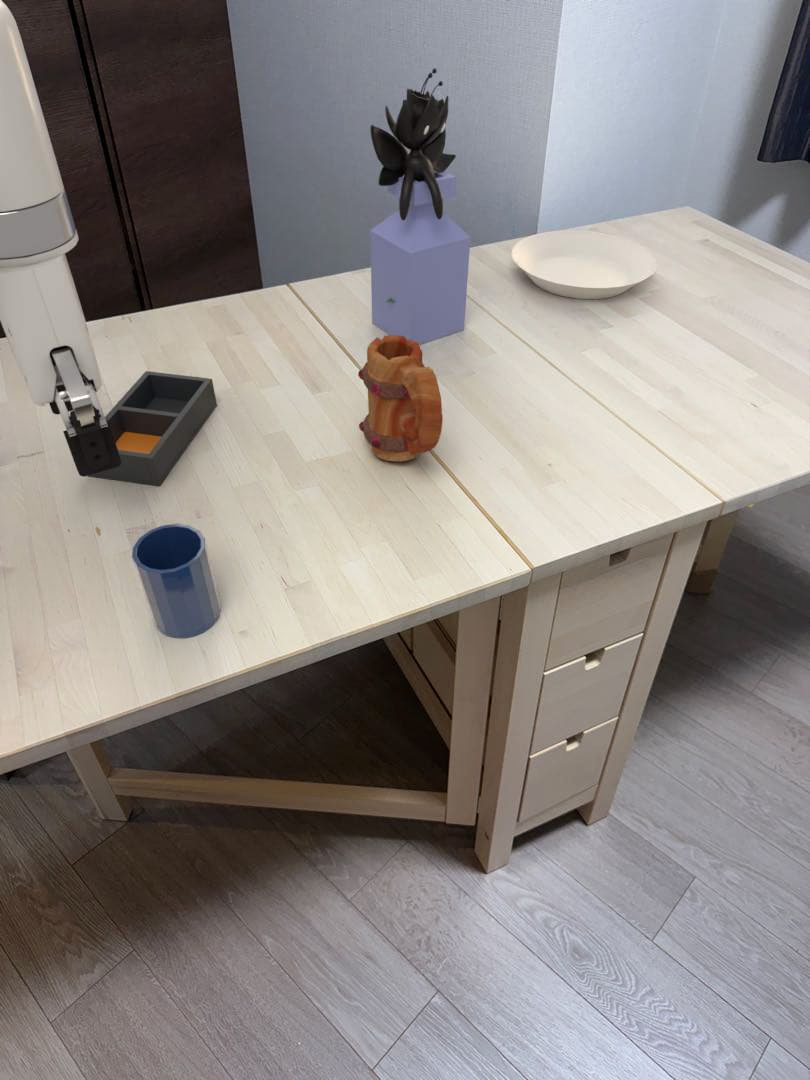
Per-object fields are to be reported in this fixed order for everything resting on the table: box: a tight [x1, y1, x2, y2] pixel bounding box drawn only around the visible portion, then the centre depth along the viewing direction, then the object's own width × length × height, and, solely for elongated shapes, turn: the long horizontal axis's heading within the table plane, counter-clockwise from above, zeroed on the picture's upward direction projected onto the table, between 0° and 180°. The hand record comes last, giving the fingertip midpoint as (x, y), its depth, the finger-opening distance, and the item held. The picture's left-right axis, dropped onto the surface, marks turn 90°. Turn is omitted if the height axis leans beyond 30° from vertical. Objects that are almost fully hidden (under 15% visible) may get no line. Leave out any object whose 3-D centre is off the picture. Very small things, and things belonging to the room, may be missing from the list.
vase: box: [369, 68, 471, 346], centre depth 105 cm, size 14×12×35 cm
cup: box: [131, 523, 221, 639], centre depth 70 cm, size 6×6×9 cm
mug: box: [357, 334, 443, 462], centre depth 87 cm, size 15×8×15 cm, turn 25°
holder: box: [88, 370, 218, 487], centre depth 94 cm, size 9×18×4 cm, turn 169°
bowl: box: [511, 229, 658, 300], centre depth 131 cm, size 25×25×4 cm
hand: (85, 437), depth 60 cm, fingers open, 9 cm apart
